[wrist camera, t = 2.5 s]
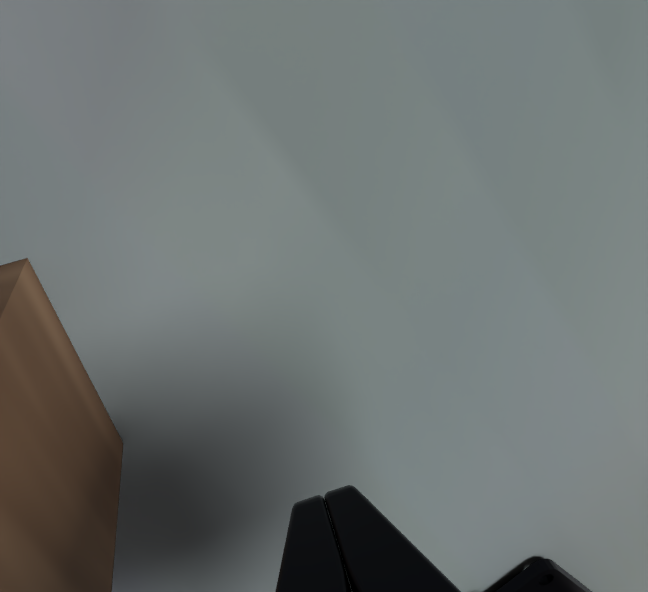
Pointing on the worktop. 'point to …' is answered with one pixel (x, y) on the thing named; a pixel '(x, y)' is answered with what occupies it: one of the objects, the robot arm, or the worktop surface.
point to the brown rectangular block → (51, 452)
